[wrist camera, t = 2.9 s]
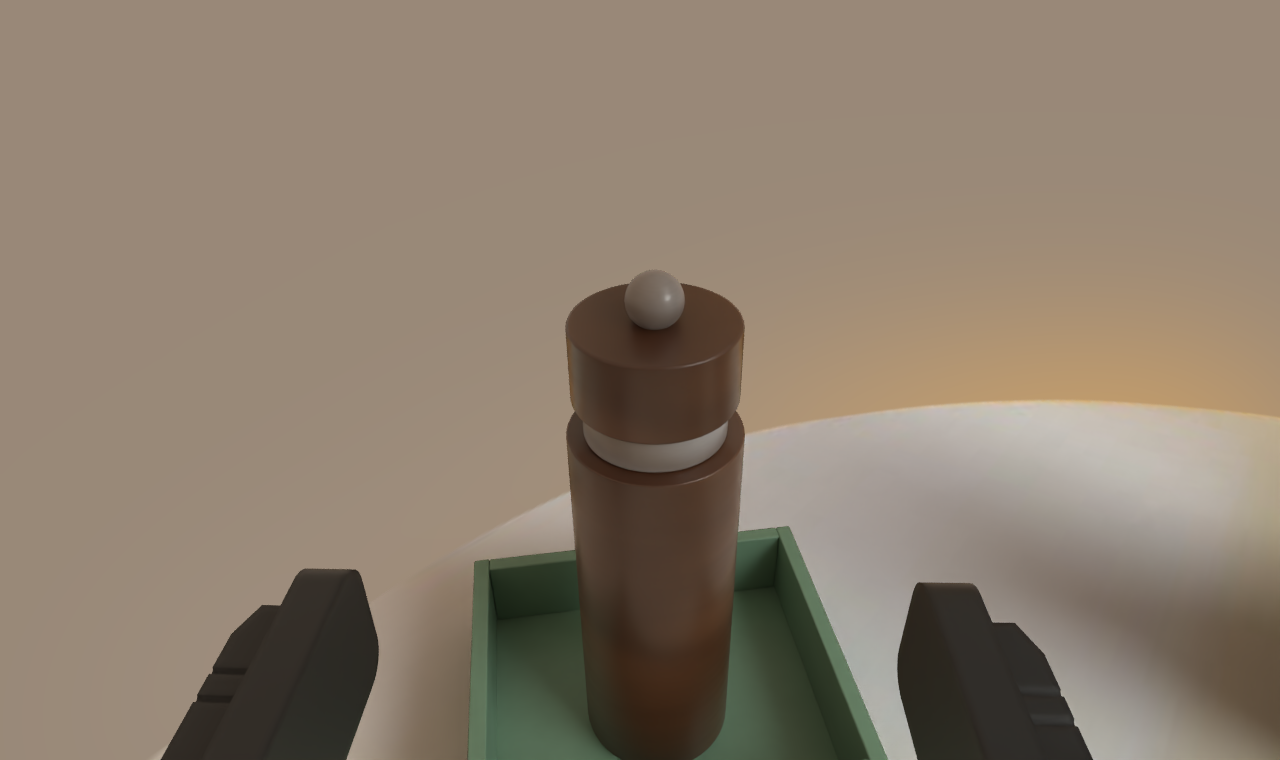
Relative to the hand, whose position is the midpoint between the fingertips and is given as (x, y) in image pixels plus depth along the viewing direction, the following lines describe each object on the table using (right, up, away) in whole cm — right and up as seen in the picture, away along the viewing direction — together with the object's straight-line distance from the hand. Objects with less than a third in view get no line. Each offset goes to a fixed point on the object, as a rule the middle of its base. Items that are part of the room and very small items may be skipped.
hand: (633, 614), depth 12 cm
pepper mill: (+1, -9, +19) cm, 21 cm away
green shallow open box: (+1, -9, +20) cm, 22 cm away
